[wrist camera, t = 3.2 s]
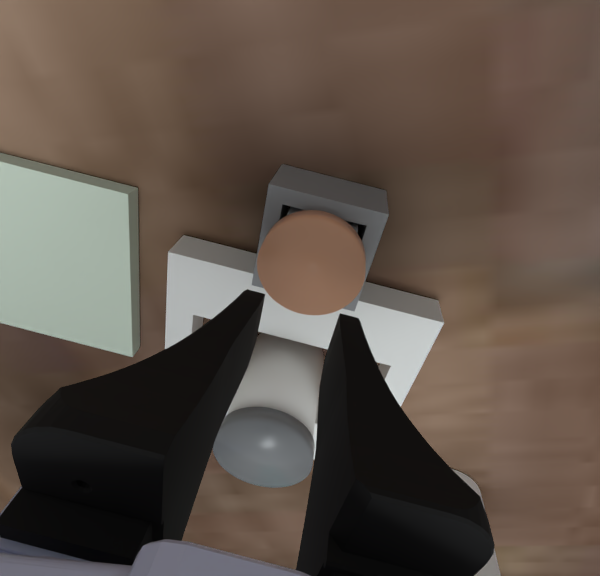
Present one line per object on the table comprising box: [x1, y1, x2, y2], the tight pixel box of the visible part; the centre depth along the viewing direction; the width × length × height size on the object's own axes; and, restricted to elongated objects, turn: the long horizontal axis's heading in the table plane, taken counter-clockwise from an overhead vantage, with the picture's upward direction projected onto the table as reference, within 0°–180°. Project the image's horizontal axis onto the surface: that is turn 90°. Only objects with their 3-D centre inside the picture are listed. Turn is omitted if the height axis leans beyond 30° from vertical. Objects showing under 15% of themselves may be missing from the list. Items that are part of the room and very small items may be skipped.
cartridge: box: [213, 333, 324, 487], centre depth 22 cm, size 5×5×7 cm
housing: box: [165, 164, 444, 459], centre depth 23 cm, size 18×14×3 cm
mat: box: [0, 153, 140, 357], centre depth 23 cm, size 11×11×1 cm
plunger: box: [257, 207, 366, 315], centre depth 18 cm, size 4×4×4 cm
